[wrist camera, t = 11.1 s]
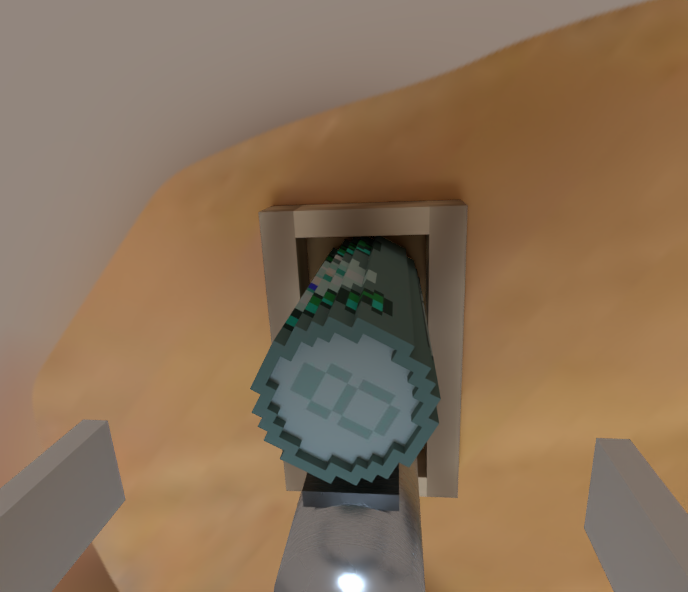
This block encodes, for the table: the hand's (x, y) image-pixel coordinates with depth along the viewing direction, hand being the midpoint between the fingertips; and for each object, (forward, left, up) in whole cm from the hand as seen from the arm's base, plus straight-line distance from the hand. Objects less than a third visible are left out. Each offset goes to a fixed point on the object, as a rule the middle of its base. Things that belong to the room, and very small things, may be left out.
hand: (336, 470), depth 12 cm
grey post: (0, +9, -18) cm, 20 cm away
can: (0, 0, -18) cm, 18 cm away
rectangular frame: (0, +4, -18) cm, 19 cm away
